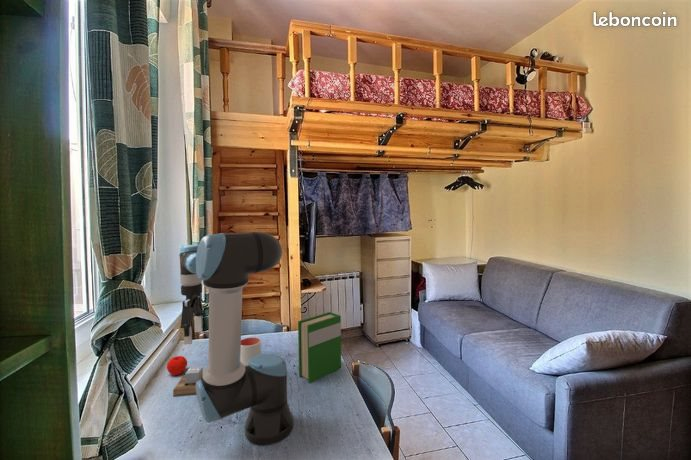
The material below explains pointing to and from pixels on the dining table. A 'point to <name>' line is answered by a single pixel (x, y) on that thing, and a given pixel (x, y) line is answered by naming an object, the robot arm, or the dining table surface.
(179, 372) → the apple
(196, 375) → the key three dots
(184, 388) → the key board
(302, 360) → the hardback book
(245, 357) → the cup
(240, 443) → the dining table surface
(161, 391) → the dining table surface
